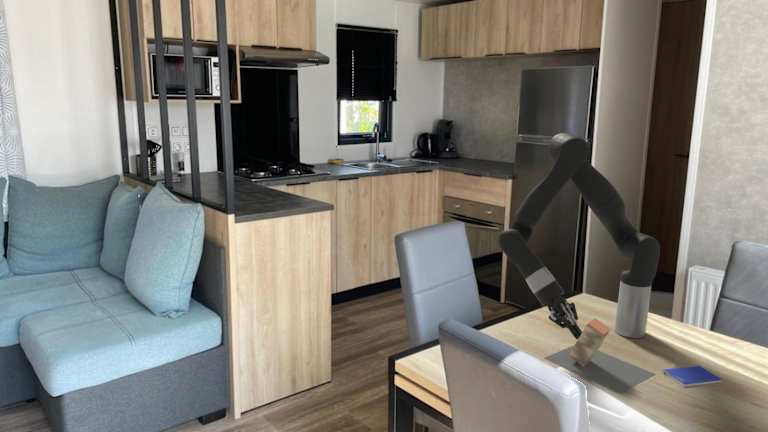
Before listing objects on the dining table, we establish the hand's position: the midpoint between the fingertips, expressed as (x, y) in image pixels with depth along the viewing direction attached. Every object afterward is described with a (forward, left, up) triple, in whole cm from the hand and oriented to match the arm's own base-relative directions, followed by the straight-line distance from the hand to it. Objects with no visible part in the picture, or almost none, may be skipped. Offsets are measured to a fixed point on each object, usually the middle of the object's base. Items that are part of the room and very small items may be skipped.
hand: (580, 337), depth 161 cm
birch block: (0, +1, -6) cm, 6 cm away
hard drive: (-19, +23, -9) cm, 31 cm away
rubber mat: (-2, +5, -8) cm, 10 cm away
